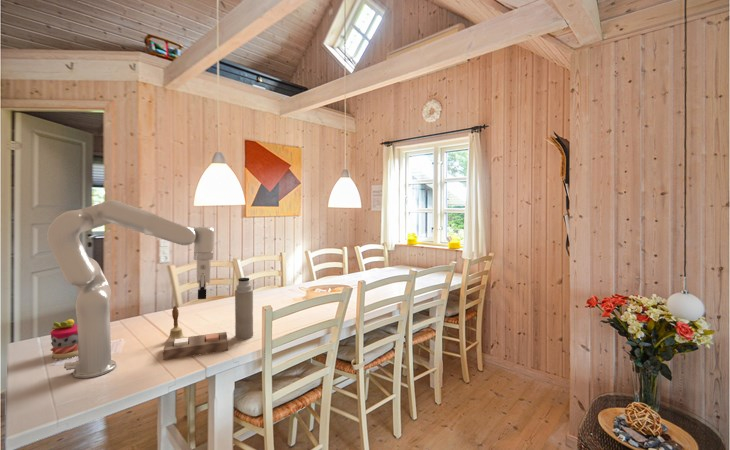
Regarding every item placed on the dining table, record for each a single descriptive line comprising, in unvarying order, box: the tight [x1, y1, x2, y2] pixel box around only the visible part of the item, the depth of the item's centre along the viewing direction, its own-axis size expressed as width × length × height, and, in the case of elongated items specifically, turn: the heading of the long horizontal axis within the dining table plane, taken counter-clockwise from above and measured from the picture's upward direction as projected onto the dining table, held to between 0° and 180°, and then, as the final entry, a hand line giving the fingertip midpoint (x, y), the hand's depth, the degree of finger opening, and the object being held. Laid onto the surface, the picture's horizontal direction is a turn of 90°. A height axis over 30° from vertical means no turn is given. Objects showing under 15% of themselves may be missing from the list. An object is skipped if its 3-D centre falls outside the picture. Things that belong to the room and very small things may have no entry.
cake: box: [50, 318, 78, 360], centre depth 141 cm, size 10×10×15 cm
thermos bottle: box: [234, 277, 254, 340], centre depth 163 cm, size 8×8×28 cm
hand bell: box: [166, 305, 186, 340], centre depth 157 cm, size 8×8×16 cm
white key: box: [174, 336, 189, 346], centre depth 145 cm, size 5×5×3 cm
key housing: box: [162, 331, 229, 361], centre depth 148 cm, size 24×12×4 cm, turn 115°
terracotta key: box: [205, 333, 219, 342], centre depth 150 cm, size 5×5×3 cm
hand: (201, 298), depth 147 cm, fingers closed
